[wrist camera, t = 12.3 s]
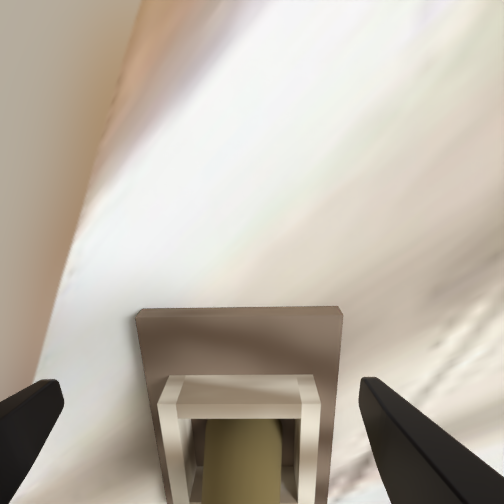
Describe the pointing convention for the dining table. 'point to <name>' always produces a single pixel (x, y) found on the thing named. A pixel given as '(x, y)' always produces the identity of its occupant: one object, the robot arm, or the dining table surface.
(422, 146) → the dining table surface
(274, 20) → the dining table surface
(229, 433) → the olive green rounded peg
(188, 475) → the socket board
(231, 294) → the dining table surface
